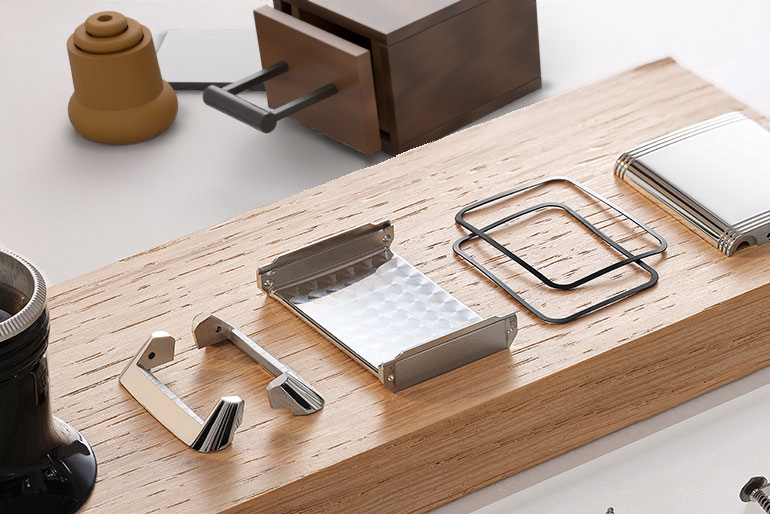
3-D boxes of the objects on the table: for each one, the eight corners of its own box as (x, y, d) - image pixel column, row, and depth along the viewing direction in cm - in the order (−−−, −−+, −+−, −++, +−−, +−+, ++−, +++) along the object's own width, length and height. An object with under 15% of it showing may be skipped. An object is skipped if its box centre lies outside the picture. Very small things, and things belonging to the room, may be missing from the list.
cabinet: (400, 159, 144) (386, 34, 138) (288, 105, 150) (269, -17, 144) (542, 86, 152) (534, -34, 146) (430, 38, 158) (418, -79, 152)
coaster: (315, 37, 158) (314, 30, 158) (295, 90, 152) (294, 83, 151) (169, 36, 158) (168, 29, 158) (143, 89, 152) (141, 82, 151)
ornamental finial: (71, 104, 150) (178, 92, 151) (71, 155, 144) (182, 142, 146) (48, 0, 145) (159, -11, 146) (47, 48, 139) (162, 36, 141)
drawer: (292, 194, 138) (276, 93, 134) (190, 143, 144) (172, 44, 139) (502, 89, 150) (494, -8, 145) (401, 45, 155) (390, -50, 150)
